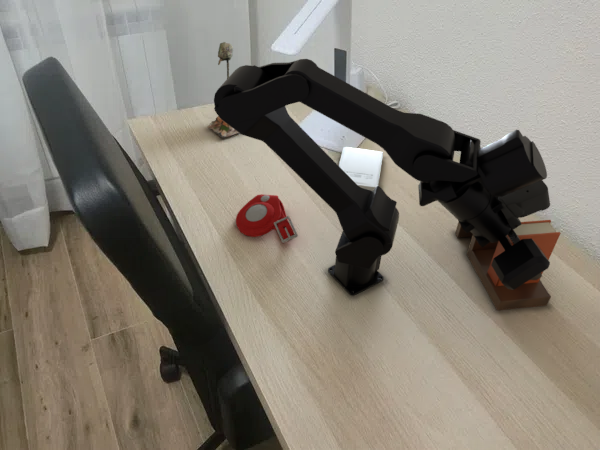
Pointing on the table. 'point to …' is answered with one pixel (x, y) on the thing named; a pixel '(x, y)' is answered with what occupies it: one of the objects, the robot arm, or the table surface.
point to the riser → (500, 294)
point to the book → (542, 237)
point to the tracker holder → (265, 218)
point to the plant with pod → (226, 55)
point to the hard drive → (362, 166)
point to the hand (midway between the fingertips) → (524, 255)
